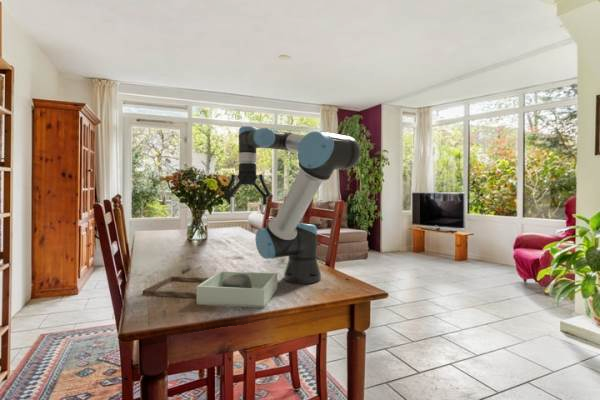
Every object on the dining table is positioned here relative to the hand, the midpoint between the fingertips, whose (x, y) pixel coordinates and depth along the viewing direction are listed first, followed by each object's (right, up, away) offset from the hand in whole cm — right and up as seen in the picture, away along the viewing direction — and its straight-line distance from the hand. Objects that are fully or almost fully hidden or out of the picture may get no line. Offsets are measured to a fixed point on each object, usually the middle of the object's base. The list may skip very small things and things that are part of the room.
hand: (247, 212), depth 149 cm
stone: (+1, -27, -33) cm, 43 cm away
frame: (-19, -27, -22) cm, 40 cm away
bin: (+2, -28, -31) cm, 41 cm away
